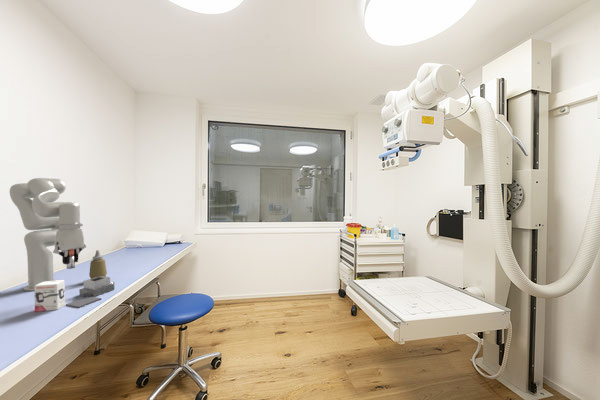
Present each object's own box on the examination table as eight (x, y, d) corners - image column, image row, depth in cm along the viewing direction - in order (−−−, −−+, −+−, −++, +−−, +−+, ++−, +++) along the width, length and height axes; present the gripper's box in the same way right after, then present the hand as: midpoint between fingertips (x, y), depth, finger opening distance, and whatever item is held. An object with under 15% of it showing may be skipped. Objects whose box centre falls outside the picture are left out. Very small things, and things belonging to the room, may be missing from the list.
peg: (65, 268, 118) (64, 248, 118) (72, 266, 121) (72, 247, 121) (69, 269, 117) (68, 249, 117) (76, 267, 120) (75, 248, 120)
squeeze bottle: (109, 279, 142) (108, 249, 141) (92, 283, 135) (91, 252, 135) (104, 276, 146) (103, 248, 146) (87, 281, 139) (86, 251, 139)
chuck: (79, 295, 119) (79, 281, 119) (106, 285, 131) (106, 273, 131) (93, 297, 116) (92, 283, 116) (119, 287, 128) (119, 274, 128)
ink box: (34, 312, 102) (33, 285, 101) (43, 307, 106) (42, 281, 106) (57, 309, 103) (56, 283, 103) (66, 304, 108) (65, 279, 108)
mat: (66, 305, 108) (65, 304, 108) (88, 297, 116) (88, 296, 116) (79, 308, 105) (79, 306, 105) (101, 299, 114) (101, 298, 114)
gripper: (83, 224, 127) (84, 258, 128) (43, 229, 112) (44, 267, 112) (93, 225, 125) (94, 259, 126) (53, 229, 110) (54, 268, 110)
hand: (70, 262), depth 119 cm, fingers closed on peg, 3 cm apart
